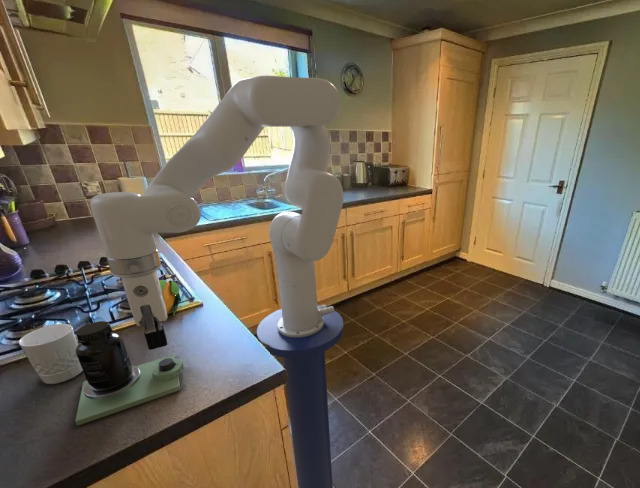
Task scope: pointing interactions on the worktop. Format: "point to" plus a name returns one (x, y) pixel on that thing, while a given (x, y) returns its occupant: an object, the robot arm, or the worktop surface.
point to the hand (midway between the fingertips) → (158, 345)
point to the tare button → (166, 364)
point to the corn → (170, 294)
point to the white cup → (52, 352)
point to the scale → (133, 391)
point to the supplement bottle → (102, 356)
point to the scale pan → (115, 391)
